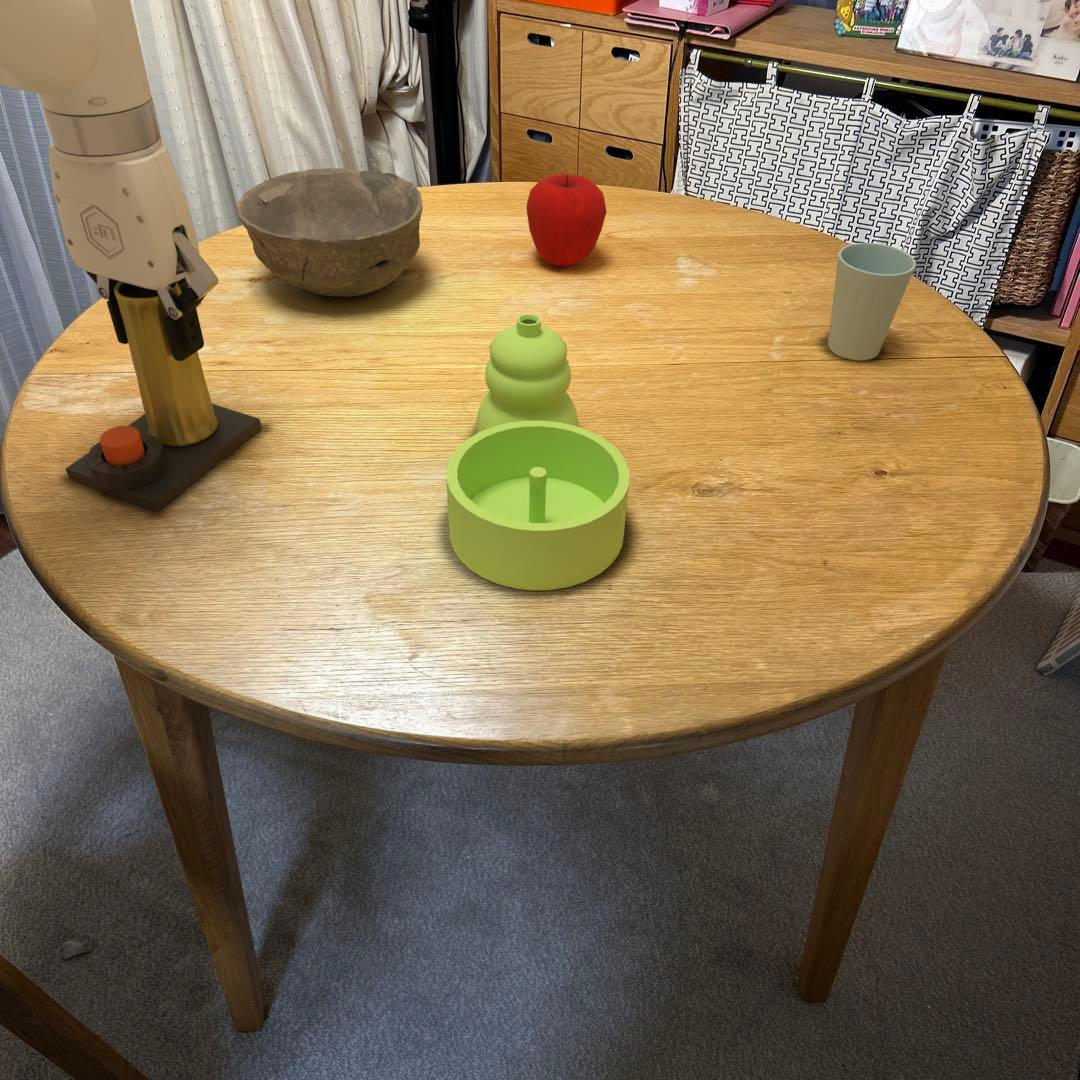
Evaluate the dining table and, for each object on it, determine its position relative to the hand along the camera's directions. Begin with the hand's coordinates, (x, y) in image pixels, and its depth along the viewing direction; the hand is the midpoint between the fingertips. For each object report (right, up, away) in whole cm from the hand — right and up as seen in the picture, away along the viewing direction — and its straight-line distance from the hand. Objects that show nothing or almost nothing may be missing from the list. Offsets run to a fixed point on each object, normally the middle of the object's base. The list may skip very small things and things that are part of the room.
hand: (161, 343), depth 83 cm
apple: (+36, +18, +38) cm, 55 cm away
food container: (+32, -13, +2) cm, 34 cm away
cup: (+67, +4, +22) cm, 71 cm away
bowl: (+9, +14, +32) cm, 36 cm away
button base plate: (-1, -9, +5) cm, 10 cm away
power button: (-3, -10, 0) cm, 10 cm away
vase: (0, -7, +6) cm, 9 cm away
